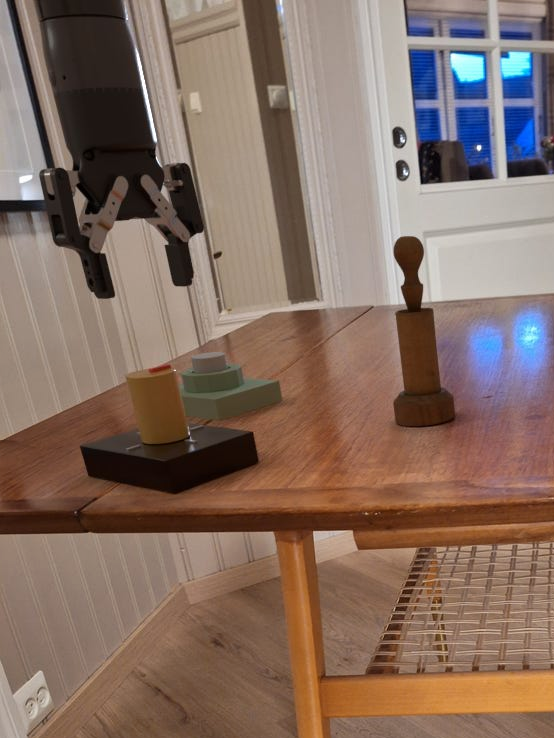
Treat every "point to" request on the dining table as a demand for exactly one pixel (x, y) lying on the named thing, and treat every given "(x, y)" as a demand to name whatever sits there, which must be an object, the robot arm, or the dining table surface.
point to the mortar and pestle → (418, 348)
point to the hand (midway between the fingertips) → (146, 291)
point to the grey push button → (209, 362)
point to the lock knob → (158, 405)
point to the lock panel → (170, 458)
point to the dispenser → (225, 393)
